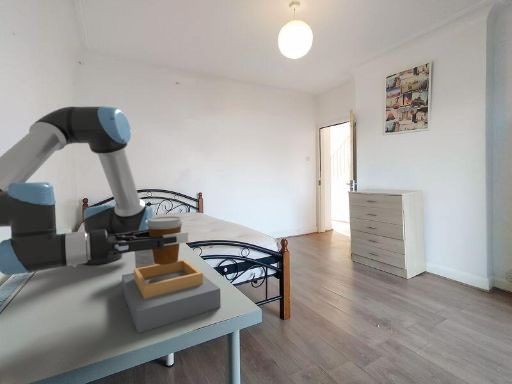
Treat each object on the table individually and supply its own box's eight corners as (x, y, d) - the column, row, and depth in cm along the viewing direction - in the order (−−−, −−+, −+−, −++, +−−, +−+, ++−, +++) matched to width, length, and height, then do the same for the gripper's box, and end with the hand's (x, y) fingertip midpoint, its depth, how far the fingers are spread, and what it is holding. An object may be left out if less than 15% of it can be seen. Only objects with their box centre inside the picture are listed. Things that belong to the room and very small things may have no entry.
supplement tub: (167, 275, 91) (166, 234, 90) (138, 281, 86) (136, 237, 85) (160, 267, 99) (159, 229, 98) (133, 273, 94) (131, 233, 93)
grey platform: (121, 286, 82) (119, 262, 81) (183, 273, 93) (182, 251, 93) (138, 333, 57) (136, 297, 57) (220, 307, 68) (219, 277, 68)
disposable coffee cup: (148, 269, 66) (146, 222, 66) (147, 258, 75) (146, 217, 74) (186, 263, 70) (185, 219, 70) (181, 254, 79) (180, 215, 78)
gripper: (88, 252, 71) (172, 240, 84) (90, 275, 54) (195, 255, 66) (87, 225, 71) (171, 217, 83) (88, 239, 53) (195, 226, 66)
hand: (182, 234), depth 75 cm, fingers closed on disposable coffee cup, 8 cm apart
